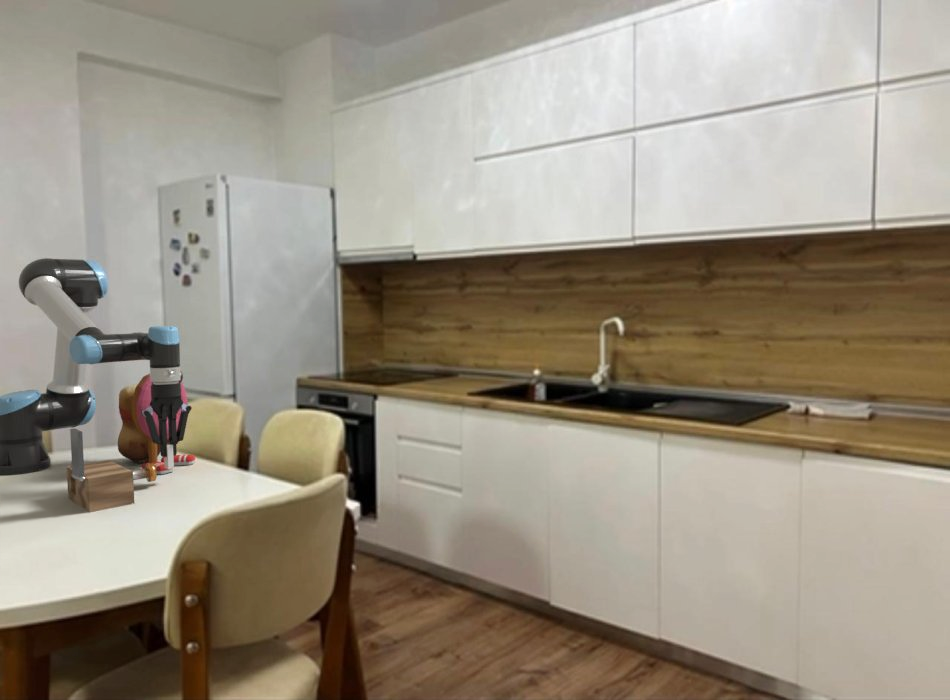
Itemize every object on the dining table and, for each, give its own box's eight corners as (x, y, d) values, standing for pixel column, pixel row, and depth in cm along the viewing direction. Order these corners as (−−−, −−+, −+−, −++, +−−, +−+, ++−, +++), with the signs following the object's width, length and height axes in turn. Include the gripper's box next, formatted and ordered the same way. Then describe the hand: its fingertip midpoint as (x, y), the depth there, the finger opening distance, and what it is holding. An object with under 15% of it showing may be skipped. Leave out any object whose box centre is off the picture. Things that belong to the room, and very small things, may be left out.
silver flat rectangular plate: (71, 477, 165) (69, 428, 164) (77, 476, 166) (74, 428, 165) (80, 482, 160) (77, 432, 159) (85, 481, 161) (83, 431, 160)
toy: (158, 477, 194) (154, 373, 192) (127, 476, 196) (123, 372, 194) (203, 460, 214) (199, 366, 212) (174, 459, 216) (170, 366, 215)
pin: (149, 479, 186) (149, 461, 185) (156, 482, 182) (155, 464, 182) (88, 490, 175) (87, 471, 175) (94, 494, 171) (93, 474, 171)
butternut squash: (110, 463, 212) (106, 384, 210) (151, 455, 223) (148, 379, 221) (134, 469, 204) (130, 386, 202) (175, 460, 215) (172, 382, 213)
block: (68, 497, 174) (66, 466, 173) (110, 489, 181) (109, 460, 181) (89, 512, 161) (88, 479, 161) (134, 503, 168) (132, 471, 168)
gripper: (145, 385, 178) (149, 474, 180) (195, 381, 187) (198, 465, 189) (135, 383, 183) (139, 469, 185) (184, 379, 193) (187, 461, 194)
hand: (169, 467), depth 187 cm, fingers closed
